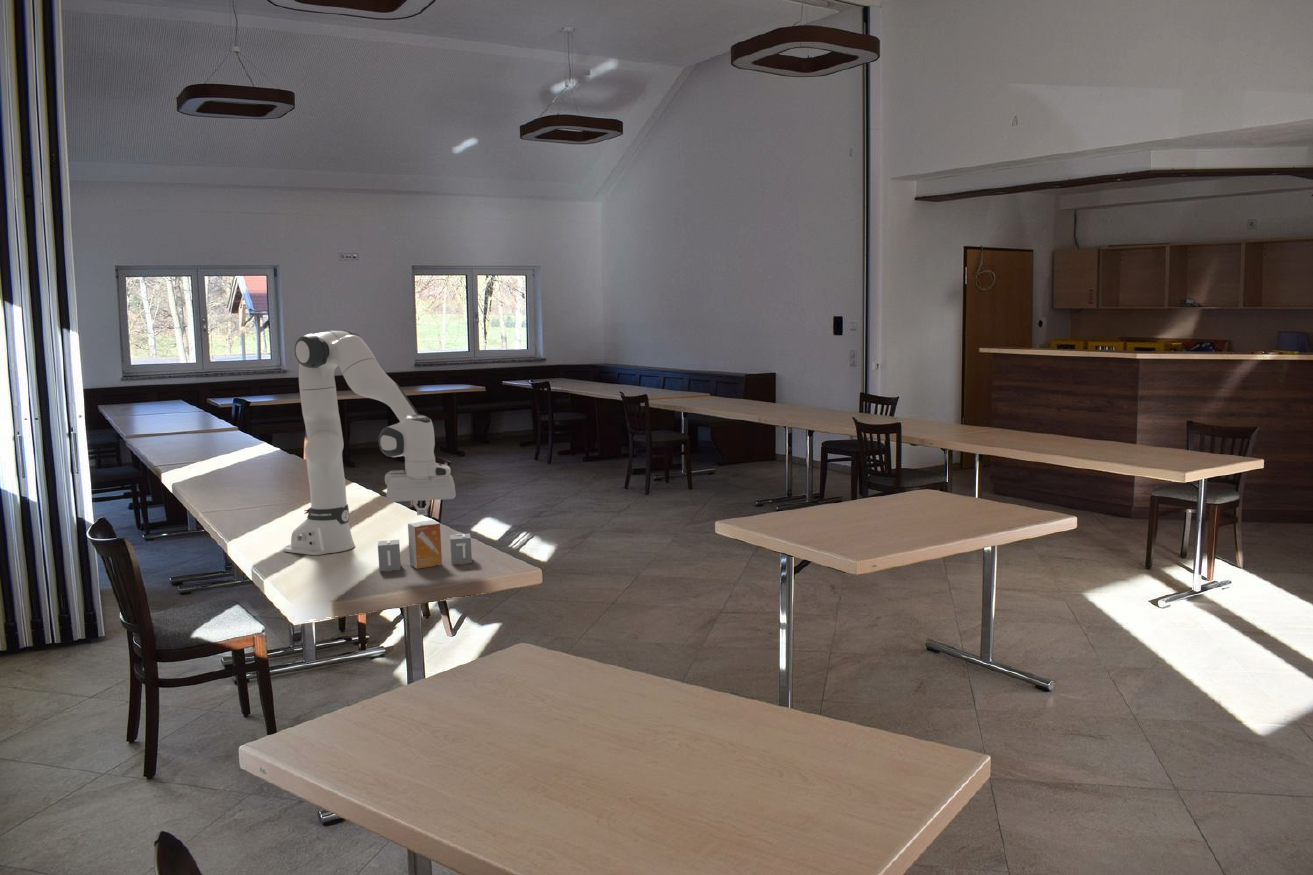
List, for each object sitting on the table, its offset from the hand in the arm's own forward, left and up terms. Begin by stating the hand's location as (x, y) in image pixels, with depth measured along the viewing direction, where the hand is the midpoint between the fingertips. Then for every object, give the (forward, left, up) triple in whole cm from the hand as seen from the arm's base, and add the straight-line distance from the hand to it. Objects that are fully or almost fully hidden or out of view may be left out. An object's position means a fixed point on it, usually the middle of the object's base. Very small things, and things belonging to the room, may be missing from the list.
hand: (422, 514), depth 292 cm
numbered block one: (-9, -5, -16) cm, 19 cm away
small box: (0, 0, -16) cm, 16 cm away
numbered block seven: (+9, +6, -16) cm, 19 cm away
